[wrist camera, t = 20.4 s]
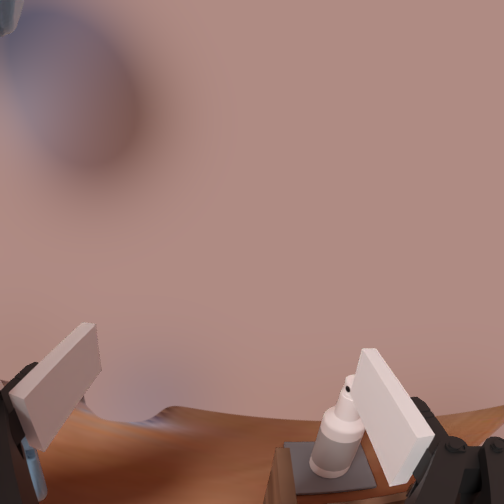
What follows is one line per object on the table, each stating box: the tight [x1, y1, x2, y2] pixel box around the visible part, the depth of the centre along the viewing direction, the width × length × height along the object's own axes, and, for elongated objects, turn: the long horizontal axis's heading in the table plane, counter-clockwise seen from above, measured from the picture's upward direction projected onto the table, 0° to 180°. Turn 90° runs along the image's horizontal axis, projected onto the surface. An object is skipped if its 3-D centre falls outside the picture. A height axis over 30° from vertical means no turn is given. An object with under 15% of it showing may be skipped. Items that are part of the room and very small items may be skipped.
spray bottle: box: [309, 374, 365, 478], centre depth 41 cm, size 7×7×18 cm
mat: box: [284, 442, 377, 495], centre depth 43 cm, size 14×12×1 cm
